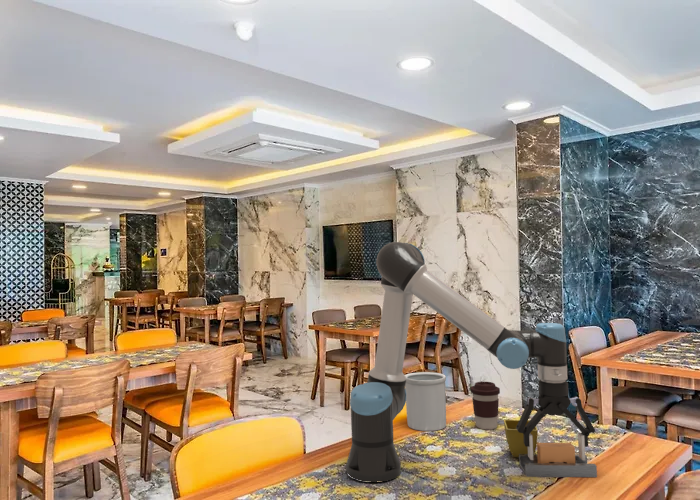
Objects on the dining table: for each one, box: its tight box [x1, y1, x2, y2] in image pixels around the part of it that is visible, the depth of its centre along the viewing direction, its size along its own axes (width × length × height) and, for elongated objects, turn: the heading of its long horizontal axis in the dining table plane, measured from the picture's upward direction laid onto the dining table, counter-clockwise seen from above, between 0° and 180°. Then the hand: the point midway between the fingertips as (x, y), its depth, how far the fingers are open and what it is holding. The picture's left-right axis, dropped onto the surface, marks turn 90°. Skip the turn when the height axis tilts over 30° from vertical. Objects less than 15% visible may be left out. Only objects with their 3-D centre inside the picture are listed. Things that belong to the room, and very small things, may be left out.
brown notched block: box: [536, 442, 576, 463], centre depth 135 cm, size 9×3×7 cm, turn 85°
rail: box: [518, 453, 598, 478], centre depth 135 cm, size 18×8×3 cm, turn 85°
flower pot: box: [503, 419, 539, 458], centre depth 147 cm, size 9×9×9 cm
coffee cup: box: [470, 381, 501, 430], centre depth 173 cm, size 10×10×15 cm
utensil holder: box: [404, 371, 447, 432], centre depth 177 cm, size 15×15×18 cm
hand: (556, 458), depth 135 cm, fingers open, 13 cm apart
